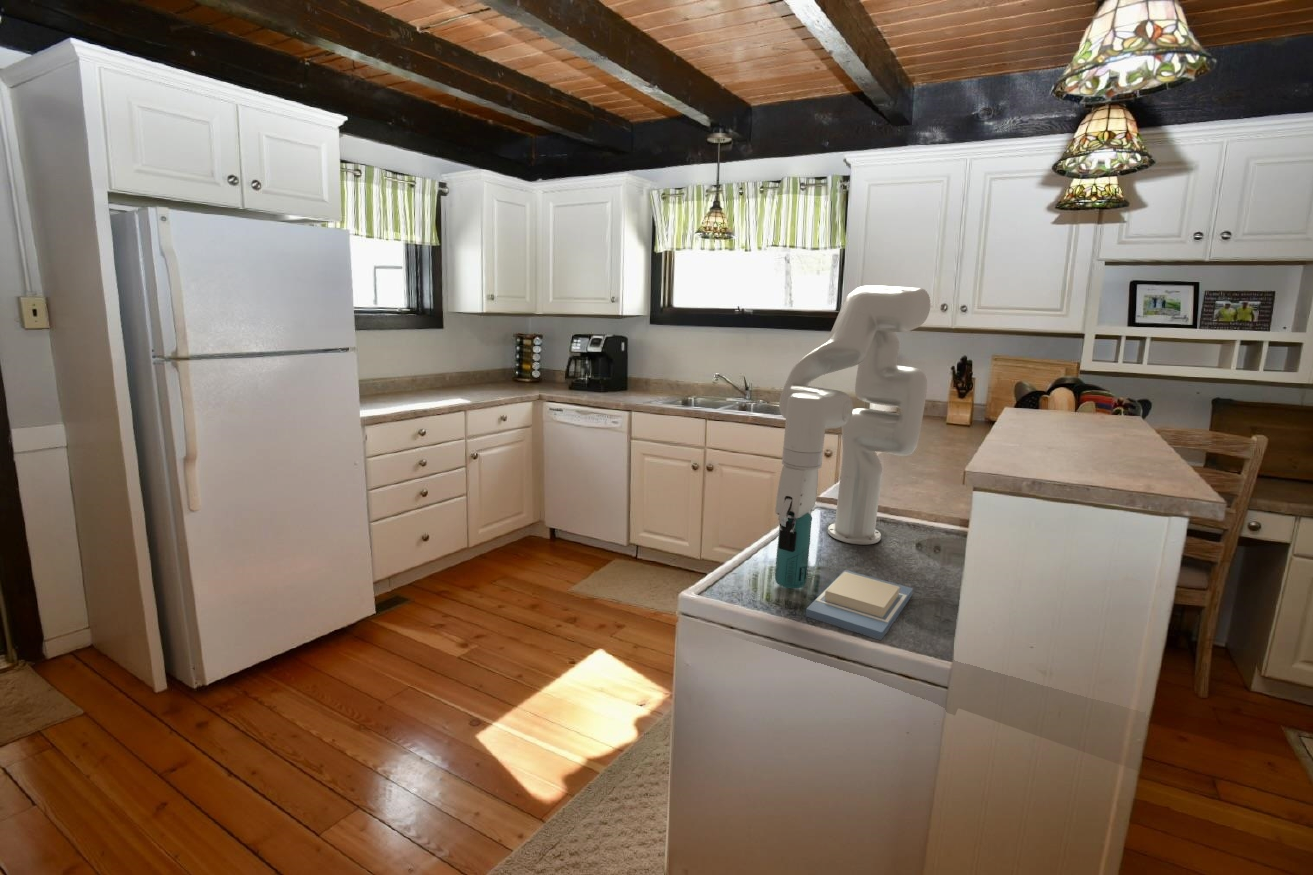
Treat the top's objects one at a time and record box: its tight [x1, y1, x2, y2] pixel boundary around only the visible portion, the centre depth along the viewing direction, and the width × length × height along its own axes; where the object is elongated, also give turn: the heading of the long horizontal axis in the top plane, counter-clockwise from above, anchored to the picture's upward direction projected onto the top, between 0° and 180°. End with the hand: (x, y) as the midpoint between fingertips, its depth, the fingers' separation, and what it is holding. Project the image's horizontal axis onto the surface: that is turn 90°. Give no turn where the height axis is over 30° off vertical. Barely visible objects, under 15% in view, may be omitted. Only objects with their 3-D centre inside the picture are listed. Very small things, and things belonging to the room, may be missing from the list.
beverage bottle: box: [774, 512, 813, 589], centre depth 137 cm, size 6×7×20 cm
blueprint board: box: [805, 569, 914, 641], centre depth 134 cm, size 22×14×4 cm, turn 147°
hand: (793, 543), depth 138 cm, fingers closed on beverage bottle, 6 cm apart
